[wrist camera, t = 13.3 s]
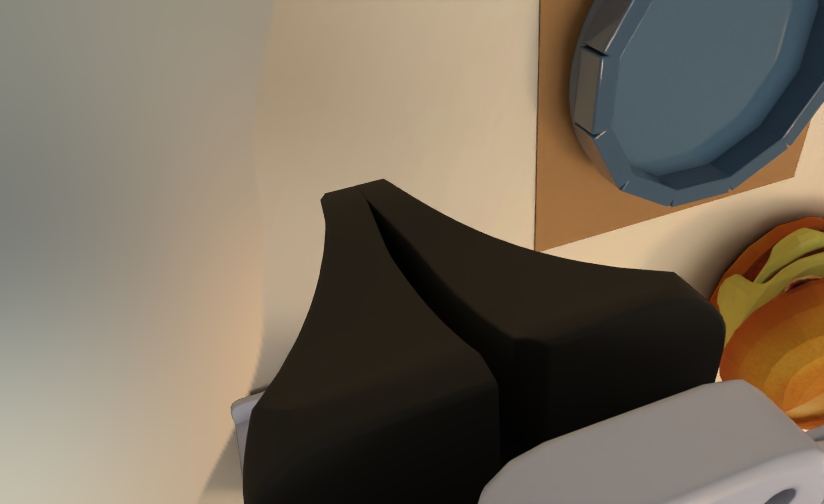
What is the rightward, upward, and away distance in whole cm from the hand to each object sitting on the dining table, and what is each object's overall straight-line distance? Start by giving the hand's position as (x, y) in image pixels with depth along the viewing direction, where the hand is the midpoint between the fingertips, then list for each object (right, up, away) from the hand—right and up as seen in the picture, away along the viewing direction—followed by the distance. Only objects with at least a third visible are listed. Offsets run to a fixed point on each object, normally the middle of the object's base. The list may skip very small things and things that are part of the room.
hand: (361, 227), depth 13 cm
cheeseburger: (+20, -2, +22) cm, 30 cm away
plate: (+12, +7, +12) cm, 18 cm away
